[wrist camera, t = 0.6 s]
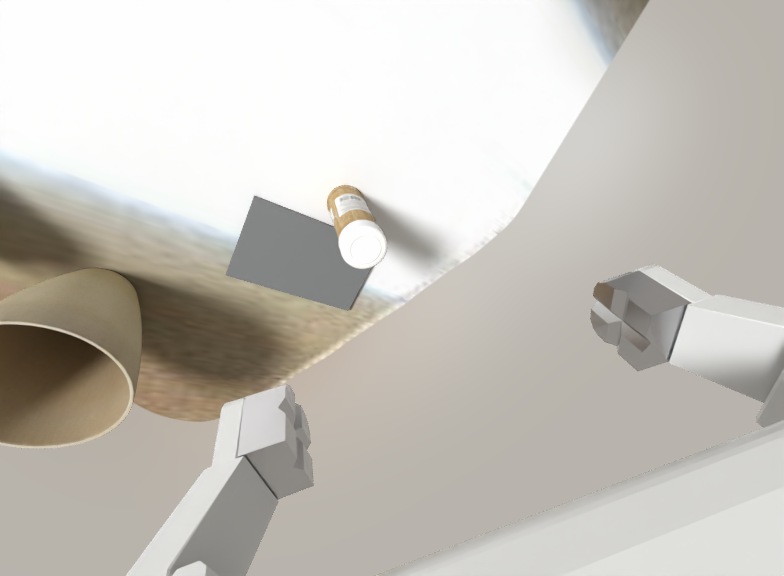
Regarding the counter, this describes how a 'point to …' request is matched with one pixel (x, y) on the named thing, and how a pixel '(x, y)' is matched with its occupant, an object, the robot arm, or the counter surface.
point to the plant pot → (68, 359)
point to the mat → (294, 256)
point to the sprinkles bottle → (356, 228)
